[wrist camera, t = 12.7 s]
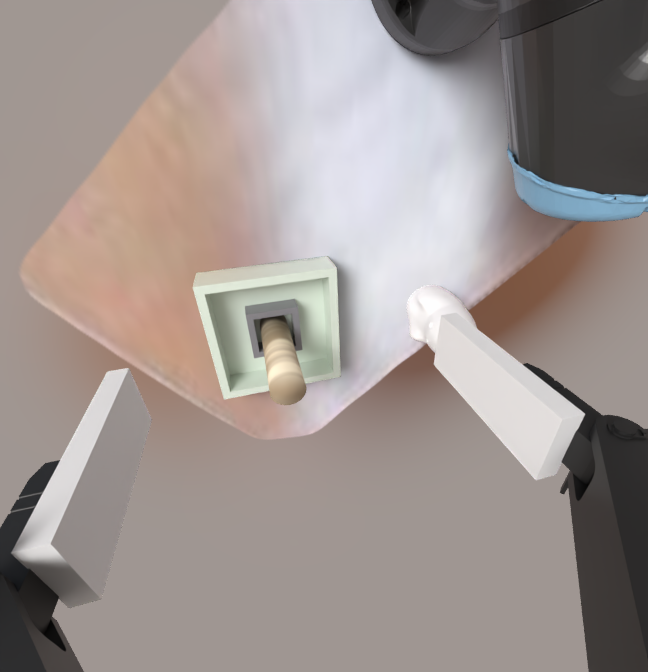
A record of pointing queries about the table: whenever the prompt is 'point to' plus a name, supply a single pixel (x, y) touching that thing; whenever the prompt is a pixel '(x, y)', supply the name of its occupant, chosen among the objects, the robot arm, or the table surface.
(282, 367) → the beige wooden dowel
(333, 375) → the green square socket tray
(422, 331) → the figurine
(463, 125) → the table surface
